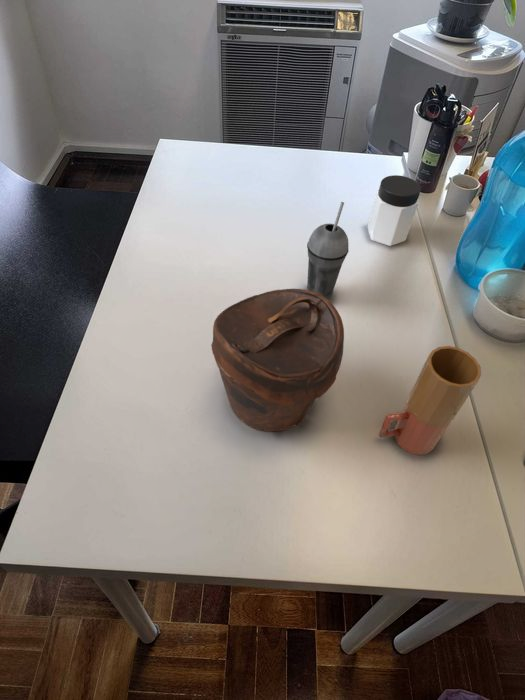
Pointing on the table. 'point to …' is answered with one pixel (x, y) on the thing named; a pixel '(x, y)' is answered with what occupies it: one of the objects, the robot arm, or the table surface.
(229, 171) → the table surface
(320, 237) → the beverage cup
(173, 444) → the table surface
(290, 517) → the table surface
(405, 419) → the mug
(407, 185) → the jar
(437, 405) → the wooden cup
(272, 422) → the case
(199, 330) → the table surface
